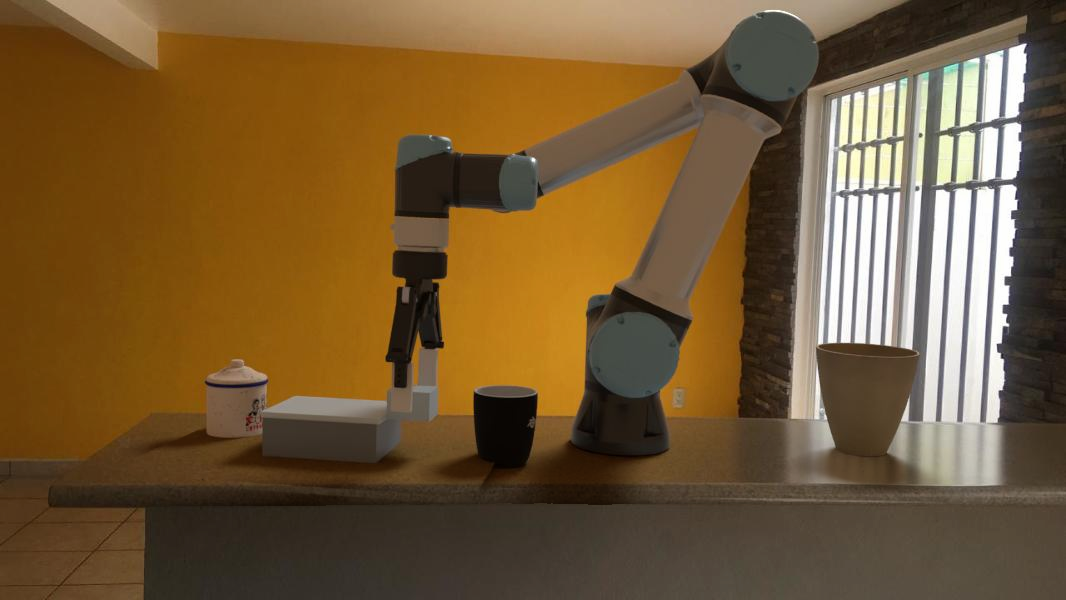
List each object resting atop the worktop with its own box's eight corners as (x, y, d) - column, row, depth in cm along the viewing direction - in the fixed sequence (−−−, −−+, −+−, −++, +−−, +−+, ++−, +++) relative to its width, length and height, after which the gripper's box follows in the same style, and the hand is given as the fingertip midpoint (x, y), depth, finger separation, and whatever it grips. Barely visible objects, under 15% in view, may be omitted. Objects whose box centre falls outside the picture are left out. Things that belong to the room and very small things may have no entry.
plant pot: (795, 438, 141) (800, 341, 140) (882, 439, 142) (889, 343, 141) (835, 463, 126) (841, 355, 125) (932, 464, 127) (939, 356, 126)
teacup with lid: (257, 444, 127) (257, 365, 126) (195, 442, 127) (195, 363, 126) (281, 425, 139) (281, 353, 138) (224, 424, 139) (224, 352, 138)
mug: (535, 472, 117) (537, 398, 116) (468, 469, 117) (470, 395, 116) (536, 449, 129) (538, 382, 128) (476, 447, 129) (478, 380, 128)
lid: (442, 415, 126) (443, 382, 126) (422, 433, 115) (423, 397, 115) (294, 406, 129) (295, 374, 129) (260, 423, 118) (261, 388, 117)
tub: (400, 447, 128) (401, 407, 127) (375, 468, 116) (376, 424, 116) (297, 440, 130) (297, 401, 129) (262, 461, 118) (262, 417, 118)
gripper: (417, 246, 132) (412, 384, 134) (365, 249, 107) (359, 418, 109) (465, 249, 131) (459, 387, 133) (424, 252, 106) (417, 422, 108)
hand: (414, 401), depth 121 cm, fingers open, 13 cm apart
